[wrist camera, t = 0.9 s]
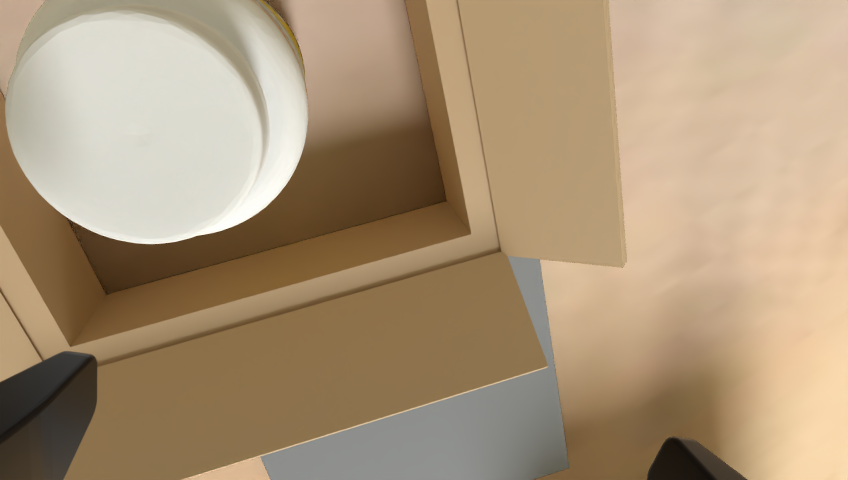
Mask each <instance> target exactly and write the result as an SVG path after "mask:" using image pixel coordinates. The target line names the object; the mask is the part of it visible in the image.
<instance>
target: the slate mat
mask: <svg viewBox="0 0 848 480" xmlns="http://www.w3.org/2000/svg"><path fill="white" fill-rule="evenodd" d="M508 259H509V262H510V264H511V267H512V270H513V272H514V275H515V278H516V280H517V283H518V286H519V288H520V291H521V294H522V296H523V299H524V302H525V304H526V307H527V310H528V312H529V315H530V318H531V321H532V323H533V326H534V329H535V331H536V334H537V337H538V339H539V342H540V345H541V347H542V350H543V353H544V355H545V358H546V361H547V363H548V367H547V368H545V369H542V370H538V371H535V372H532V373H529V374H525V375H522V376H519V377H516V378H512V379H509V380H506V381H503V382H500V383H496V384H493V385H490V386H487V387H483V388H480V389H477V390H474V391H470V392H467V393H464V394H461V395H457V396H454V397H451V398H448V399H445V400H441V401H438V402H435V403H432V404H428V405H425V406H422V407H419V408H415V409H412V410H409V411H406V412H403V413H399V414H396V415H393V416H390V417H386V418H383V419H380V420H377V421H373V422H370V423H367V424H364V425H361V426H357V427H354V428H351V429H348V430H344V431H341V432H338V433H335V434H331V435H328V436H325V437H322V438H318V439H315V440H312V441H309V442H306V443H302V444H299V445H296V446H293V447H289V448H286V449H283V450H280V451H276V452H273V453H270V454H267V455H264V456H260V457H261V459H262V462H263V464H264V466H265V468H266V470H267V473H268V475H269V477H270V479H271V480H534V479H537V478H540V477H543V476H546V475H549V474H552V473H555V472H558V471H562V470H565V469H568V468H569V462H568V455H567V448H566V441H565V434H564V427H563V420H562V413H561V406H560V399H559V392H558V385H557V378H556V371H555V364H554V357H553V350H552V343H551V336H550V329H549V322H548V315H547V308H546V301H545V294H544V287H543V280H542V273H541V266H540V259H533V258H523V257H513V256H508Z"/></svg>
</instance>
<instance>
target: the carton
mask: <svg viewBox="0 0 848 480" xmlns="http://www.w3.org/2000/svg"><path fill="white" fill-rule="evenodd" d="M405 3H406V8H407V13H408V18H409V22H410V27H411V32H412V37H413V41H414V46H415V51H416V56H417V61H418V65H419V70H420V75H421V80H422V84H423V89H424V94H425V99H426V104H427V108H428V113H429V118H430V123H431V127H432V132H433V137H434V142H435V147H436V151H437V156H438V161H439V166H440V170H441V175H442V180H443V185H444V190H445V194H446V199H447V201H446V202H442V203H438V204H435V205H431V206H428V207H424V208H420V209H417V210H413V211H409V212H406V213H402V214H398V215H395V216H391V217H388V218H384V219H380V220H377V221H373V222H369V223H366V224H362V225H358V226H355V227H351V228H347V229H344V230H340V231H337V232H333V233H329V234H326V235H322V236H318V237H315V238H311V239H307V240H304V241H300V242H297V243H293V244H289V245H286V246H282V247H278V248H275V249H271V250H267V251H264V252H260V253H256V254H253V255H249V256H246V257H242V258H238V259H235V260H231V261H227V262H224V263H220V264H216V265H213V266H209V267H205V268H202V269H198V270H195V271H191V272H187V273H184V274H180V275H176V276H173V277H169V278H165V279H162V280H158V281H155V282H151V283H147V284H144V285H140V286H136V287H133V288H129V289H125V290H122V291H118V292H114V293H111V294H107V295H106V294H105V292H104V290H103V288H102V286H101V284H100V282H99V280H98V278H97V276H96V274H95V272H94V270H93V269H92V267H91V265H90V263H89V261H88V259H87V257H86V255H85V253H84V251H83V249H82V247H81V245H80V243H79V241H78V240H77V238H76V236H75V234H74V232H73V230H72V228H71V226H70V224H69V222H68V220H67V218H66V216H64V215H63V214H61V213H60V212H59V211H58V210H56V209H55V208H54V207H53V206H52V205H50V204H49V203H48V202H47V201H46V200H45V199H44V198H43V197H42V196H41V195H40V194H39V193H38V191H37V190H36V189H35V188H34V186H33V185H32V184H31V182H30V181H29V180H28V178H27V177H26V176H25V174H24V172H23V171H22V169H21V167H20V165H19V163H18V161H17V159H16V157H15V155H14V153H13V150H12V147H11V144H10V140H9V137H8V132H7V127H6V117H5V98H4V97H3V95H2V93H1V91H0V382H1V381H3V380H5V379H7V378H9V377H11V376H13V375H15V374H17V373H19V372H21V371H23V370H25V369H27V368H29V367H31V366H33V365H35V364H37V363H40V362H42V361H44V360H46V359H48V358H50V357H52V356H54V355H56V354H58V353H60V352H63V351H73V352H80V353H87V354H92V355H93V356H95V357H96V360H97V404H96V409H95V412H94V415H93V417H92V420H91V422H90V424H89V426H88V428H87V430H86V433H85V435H84V437H83V439H82V441H81V443H80V445H79V448H78V450H77V452H76V454H75V456H74V458H73V461H72V463H71V465H70V467H69V469H68V471H67V473H66V476H65V478H64V480H186V479H189V478H192V477H196V476H199V475H202V474H205V473H209V472H212V471H215V470H218V469H221V468H225V467H228V466H231V465H234V464H238V463H241V462H244V461H247V460H251V459H254V458H257V457H260V456H264V455H267V454H270V453H273V452H276V451H280V450H283V449H286V448H289V447H293V446H296V445H299V444H302V443H306V442H309V441H312V440H315V439H318V438H322V437H325V436H328V435H331V434H335V433H338V432H341V431H344V430H348V429H351V428H354V427H357V426H361V425H364V424H367V423H370V422H373V421H377V420H380V419H383V418H386V417H390V416H393V415H396V414H399V413H403V412H406V411H409V410H412V409H415V408H419V407H422V406H425V405H428V404H432V403H435V402H438V401H441V400H445V399H448V398H451V397H454V396H457V395H461V394H464V393H467V392H470V391H474V390H477V389H480V388H483V387H487V386H490V385H493V384H496V383H500V382H503V381H506V380H509V379H512V378H516V377H519V376H522V375H525V374H529V373H532V372H535V371H538V370H542V369H545V368H547V367H548V363H547V361H546V358H545V355H544V353H543V350H542V347H541V345H540V342H539V339H538V337H537V334H536V331H535V329H534V326H533V323H532V321H531V318H530V315H529V312H528V310H527V307H526V304H525V302H524V299H523V296H522V294H521V291H520V288H519V286H518V283H517V280H516V278H515V275H514V272H513V270H512V267H511V264H510V262H509V259H508V256H513V257H523V258H533V259H543V260H552V261H562V262H572V263H582V264H592V265H602V266H612V267H622V268H623V267H624V265H625V263H626V262H627V257H626V243H625V229H624V214H623V200H622V186H621V172H620V157H619V143H618V129H617V115H616V100H615V86H614V72H613V58H612V44H611V29H610V15H609V1H608V0H405Z"/></svg>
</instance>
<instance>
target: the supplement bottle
mask: <svg viewBox="0 0 848 480" xmlns="http://www.w3.org/2000/svg"><path fill="white" fill-rule="evenodd" d="M5 117H6V127H7V132H8V137H9V140H10V144H11V147H12V150H13V153H14V155H15V157H16V159H17V161H18V163H19V165H20V167H21V169H22V171H23V172H24V174H25V176H26V177H27V178H28V180H29V181H30V182H31V184H32V185H33V186H34V188H35V189H36V190H37V191H38V193H39V194H40V195H41V196H42V197H43V198H44V199H45V200H46V201H47V202H48V203H49V204H50V205H52V206H53V207H54V208H55V209H56V210H58V211H59V212H60V213H61V214H63V215H64V216H66V217H67V218H69V219H70V220H72V221H73V222H75V223H77V224H79V225H81V226H83V227H84V228H86V229H88V230H90V231H93V232H95V233H97V234H100V235H102V236H105V237H109V238H112V239H116V240H120V241H126V242H132V243H141V244H161V243H170V242H177V241H181V240H184V239H188V238H192V237H194V236H198V235H205V234H210V233H215V232H218V231H222V230H225V229H228V228H231V227H233V226H235V225H238V224H240V223H242V222H244V221H246V220H247V219H249V218H251V217H252V216H254V215H256V214H257V213H259V212H260V211H261V210H263V209H264V208H265V207H266V206H267V205H268V204H269V203H270V202H271V201H272V200H274V199H275V198H276V197H277V195H278V194H279V193H280V192H281V191H282V189H283V188H284V187H285V186H286V184H287V183H288V181H289V180H290V178H291V176H292V175H293V173H294V171H295V169H296V167H297V164H298V162H299V160H300V157H301V155H302V151H303V148H304V144H305V139H306V133H307V124H308V98H307V91H306V82H305V69H304V64H303V59H302V54H301V51H300V48H299V45H298V43H297V41H296V39H295V36H294V34H293V32H292V31H291V29H290V28H289V26H288V24H287V23H286V22H285V20H284V19H283V18H282V16H281V15H280V13H278V12H277V11H276V10H275V9H274V8H273V7H272V6H271V5H270V4H269V3H267V2H266V1H265V0H46V1H45V2H44V3H43V5H42V6H41V7H40V8H39V9H38V11H37V12H36V14H35V15H34V16H33V18H32V20H31V22H30V23H29V25H28V27H27V29H26V31H25V34H24V36H23V38H22V40H21V44H20V47H19V50H18V53H17V59H16V65H15V67H14V70H13V72H12V75H11V78H10V80H9V83H8V89H7V94H6V100H5Z"/></svg>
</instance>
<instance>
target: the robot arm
mask: <svg viewBox="0 0 848 480" xmlns="http://www.w3.org/2000/svg"><path fill="white" fill-rule="evenodd" d="M96 404H97V360H96V357H95V356H93V355H92V354H87V353H80V352H73V351H63V352H60V353H58V354H56V355H54V356H52V357H50V358H48V359H46V360H44V361H42V362H40V363H37V364H35V365H33V366H31V367H29V368H27V369H25V370H23V371H21V372H19V373H17V374H15V375H13V376H11V377H9V378H7V379H5V380H3V381H1V382H0V480H64V478H65V476H66V473H67V471H68V469H69V467H70V465H71V463H72V461H73V458H74V456H75V454H76V452H77V450H78V448H79V445H80V443H81V441H82V439H83V437H84V435H85V433H86V430H87V428H88V426H89V424H90V422H91V420H92V417H93V415H94V412H95V409H96ZM647 480H747V479H746V478H745V477H743V476H742V475H741V474H739V473H738V472H737V471H735V470H734V469H733V468H731V467H730V466H729V465H727V464H726V463H725V462H723V461H722V460H721V459H720V458H718V457H717V456H716V455H714V454H713V453H712V452H710V451H709V450H708V449H706V448H705V447H704V446H702V445H701V444H700V443H698V442H697V441H695V440H693V439H689V438H682V437H675V436H674V437H669V438H668V439H666V440H665V442H664V443H663V445H662V447H661V449H660V451H659V453H658V454H657V456H656V458H655V460H654V462H653V464H652V465H651V467H650V469H649V472H648V478H647Z"/></svg>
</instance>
